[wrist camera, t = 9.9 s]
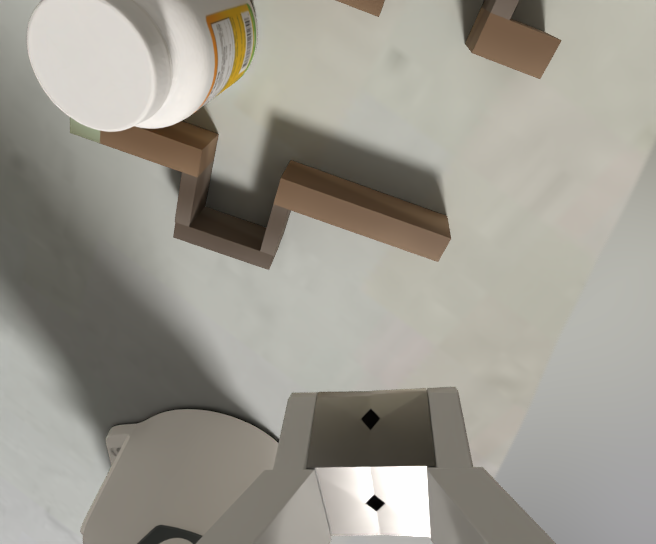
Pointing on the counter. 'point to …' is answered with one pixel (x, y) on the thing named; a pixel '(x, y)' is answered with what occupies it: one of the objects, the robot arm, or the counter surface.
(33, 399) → the counter surface
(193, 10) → the supplement bottle
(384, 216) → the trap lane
